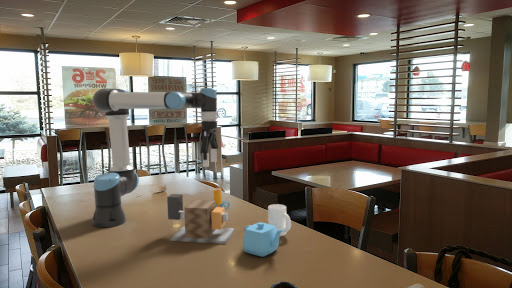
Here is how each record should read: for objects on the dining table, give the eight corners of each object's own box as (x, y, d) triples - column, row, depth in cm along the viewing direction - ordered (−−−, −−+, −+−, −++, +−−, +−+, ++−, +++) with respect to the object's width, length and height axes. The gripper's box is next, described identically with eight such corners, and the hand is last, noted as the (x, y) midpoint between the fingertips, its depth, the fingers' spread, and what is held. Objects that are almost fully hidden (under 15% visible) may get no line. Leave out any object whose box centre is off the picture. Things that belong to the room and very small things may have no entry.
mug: (283, 240, 157) (283, 212, 156) (264, 233, 166) (263, 206, 165) (296, 235, 163) (296, 208, 161) (277, 228, 172) (277, 203, 170)
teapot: (274, 264, 135) (274, 233, 134) (235, 252, 146) (235, 223, 145) (292, 252, 145) (292, 223, 144) (254, 242, 156) (254, 215, 155)
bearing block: (170, 240, 159) (168, 208, 157) (184, 227, 175) (183, 198, 173) (225, 243, 155) (224, 210, 153) (234, 230, 170) (233, 200, 169)
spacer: (211, 229, 160) (211, 212, 159) (216, 223, 167) (216, 207, 166) (220, 229, 159) (220, 212, 158) (225, 223, 166) (225, 207, 165)
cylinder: (224, 223, 180) (224, 192, 178) (203, 222, 182) (203, 191, 180) (231, 215, 192) (230, 186, 190) (211, 214, 194) (211, 186, 192)
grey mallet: (168, 219, 164) (167, 196, 163) (172, 215, 169) (171, 194, 168) (226, 222, 159) (225, 199, 158) (229, 218, 164) (228, 196, 163)
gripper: (209, 122, 168) (210, 169, 170) (223, 119, 192) (223, 160, 195) (193, 122, 169) (194, 168, 172) (209, 119, 194) (209, 159, 196)
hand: (210, 164), depth 183 cm, fingers open, 13 cm apart
